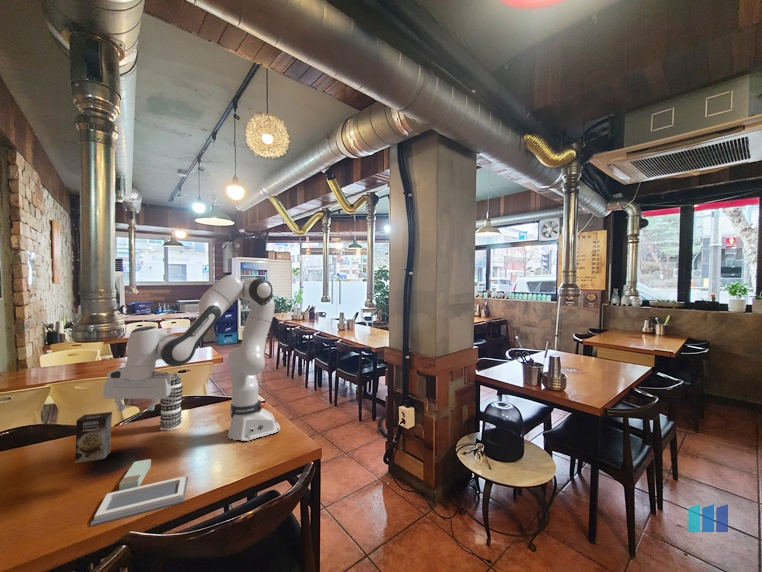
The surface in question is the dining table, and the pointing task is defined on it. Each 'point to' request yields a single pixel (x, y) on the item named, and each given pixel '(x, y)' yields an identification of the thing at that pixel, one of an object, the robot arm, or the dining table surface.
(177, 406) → the decorative candle
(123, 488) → the pale green rectangular block
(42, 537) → the dining table surface
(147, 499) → the picture frame
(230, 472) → the dining table surface
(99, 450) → the coffee box
